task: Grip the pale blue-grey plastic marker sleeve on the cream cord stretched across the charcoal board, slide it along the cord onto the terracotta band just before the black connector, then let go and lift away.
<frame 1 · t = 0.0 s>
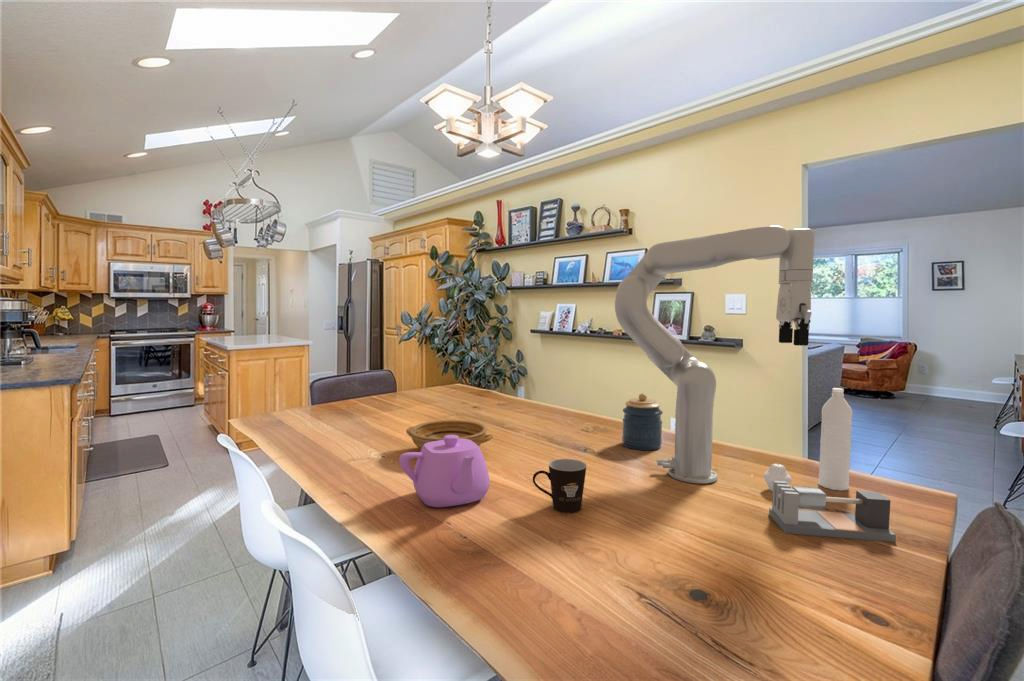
hand: (792, 344, 122), 37 cm above the table, tool pointing down, fingers open, 9 cm apart
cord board: (828, 527, 98), on the table
canister: (641, 446, 158), on the table
water bottle: (833, 485, 122), on the table
teapot: (452, 499, 113), on the table
ceramic bowl: (448, 454, 149), on the table
coffee mug: (560, 507, 108), on the table
white rounded ridged piece: (776, 491, 118), on the table
marker sleeve: (808, 498, 99), point 6 cm above the table, slide at 0.0 cm
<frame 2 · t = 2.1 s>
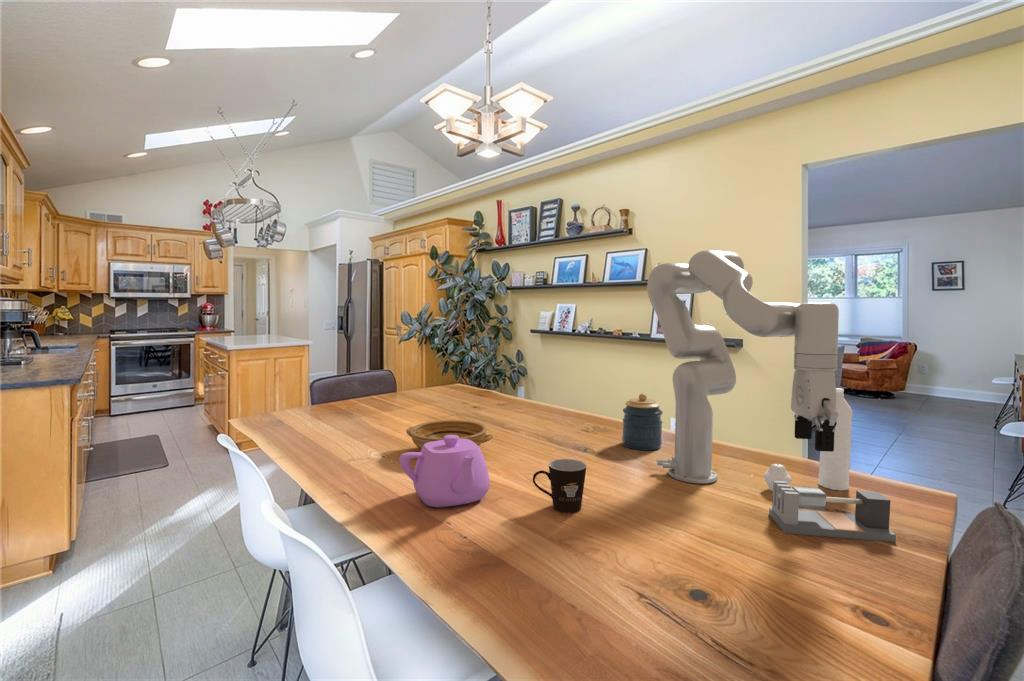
hand: (813, 444, 97), 18 cm above the table, tool pointing down, fingers open, 9 cm apart
nothing on the table moved.
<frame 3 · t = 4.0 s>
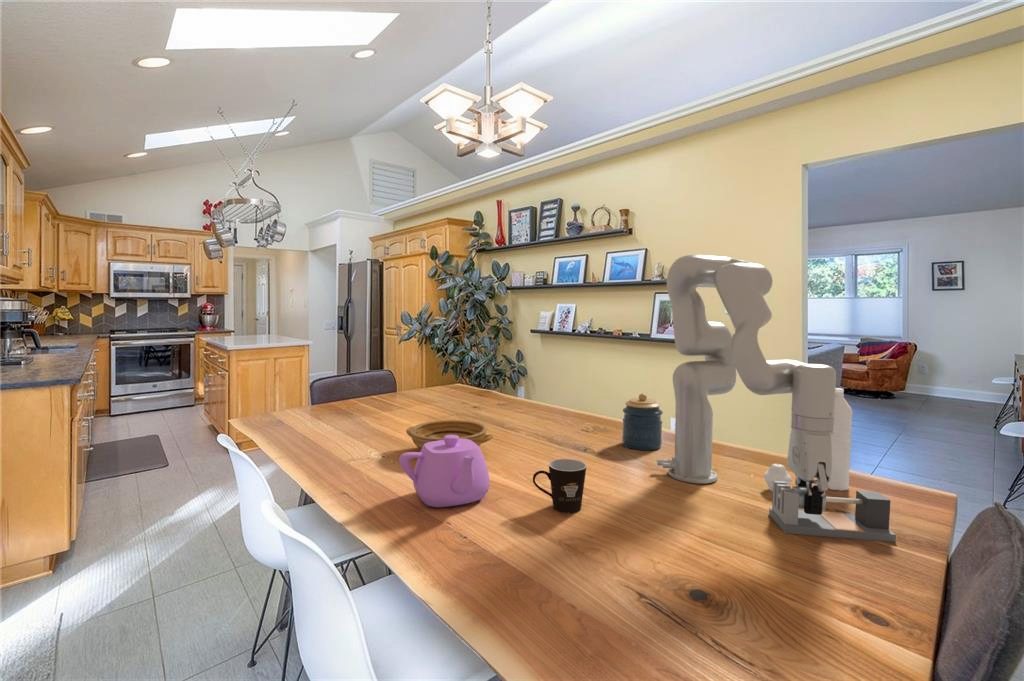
hand: (808, 508, 99), 4 cm above the table, tool pointing down, fingers closed on marker sleeve, 3 cm apart
marker sleeve: (808, 498, 99), point 6 cm above the table, slide at 0.0 cm, touching gripper
everything else where it was.
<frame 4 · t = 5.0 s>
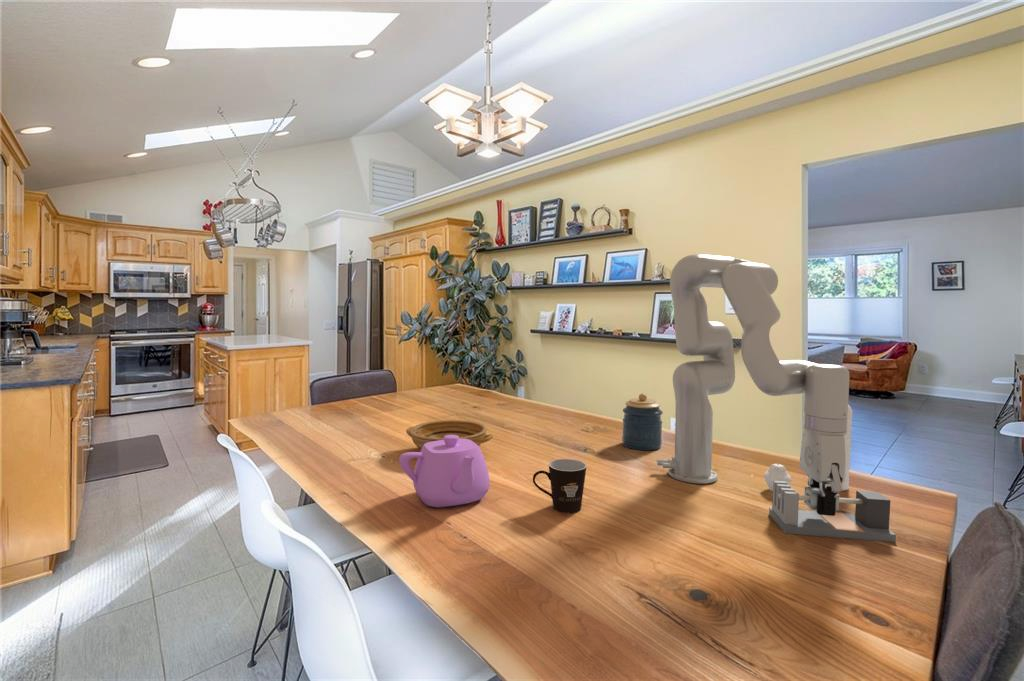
hand: (820, 509, 98), 4 cm above the table, tool pointing down, fingers closed on marker sleeve, 3 cm apart
marker sleeve: (821, 498, 98), point 6 cm above the table, slide at 2.5 cm, touching gripper
everything else where it was.
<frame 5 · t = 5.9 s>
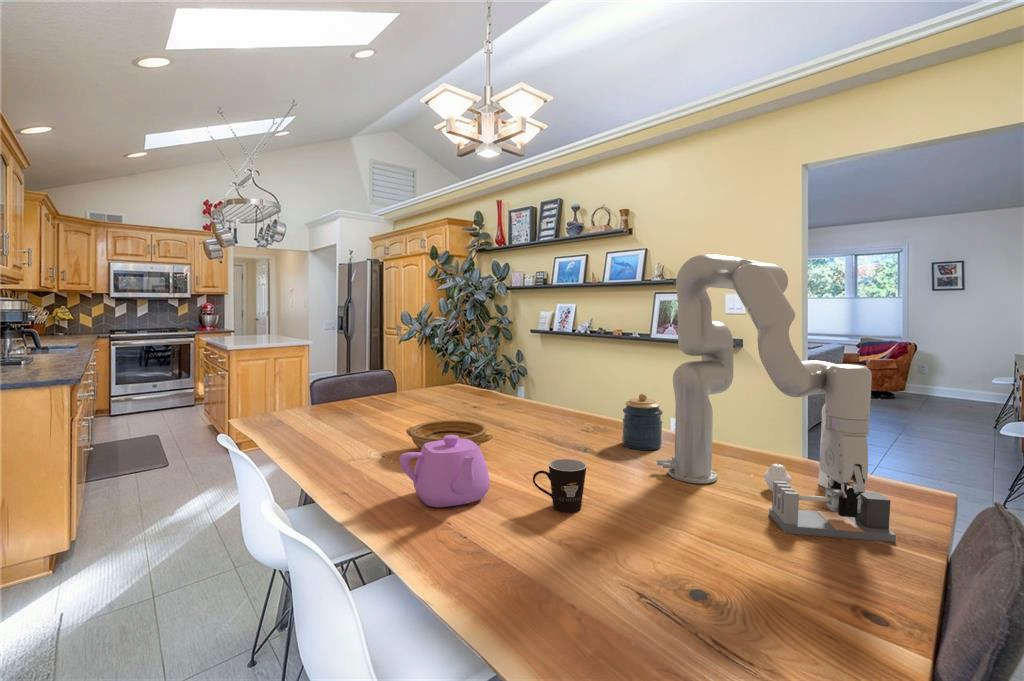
hand: (842, 510, 98), 4 cm above the table, tool pointing down, fingers closed on marker sleeve, 3 cm apart
marker sleeve: (842, 500, 97), point 6 cm above the table, slide at 6.4 cm, touching gripper
everything else where it was.
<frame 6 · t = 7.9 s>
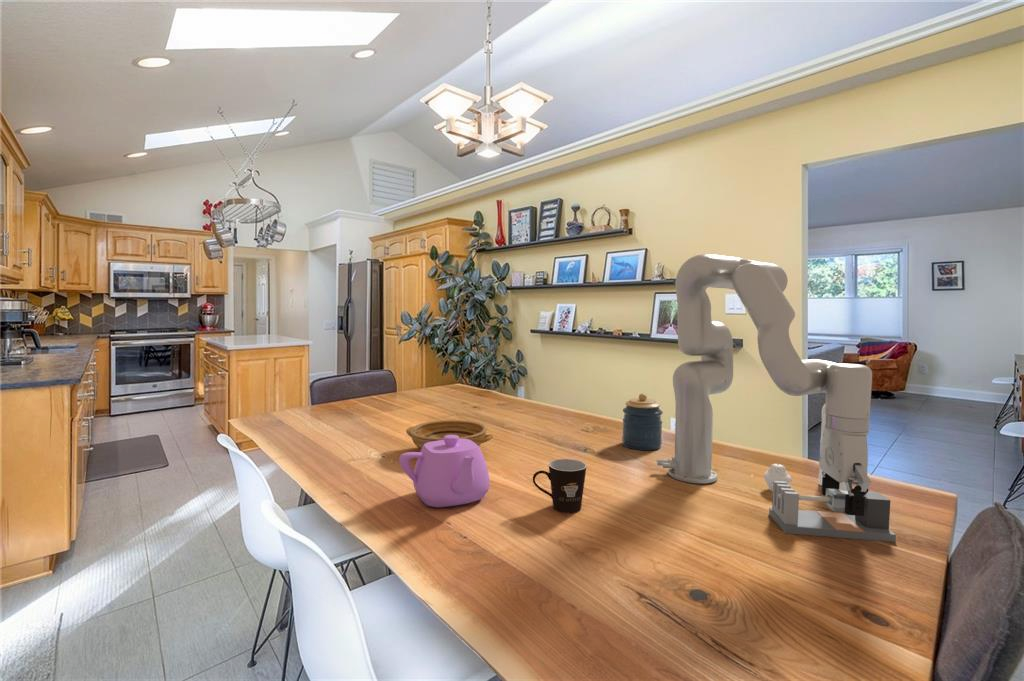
hand: (841, 504, 98), 5 cm above the table, tool pointing down, fingers open, 9 cm apart
marker sleeve: (842, 500, 97), point 6 cm above the table, slide at 6.5 cm
everything else where it was.
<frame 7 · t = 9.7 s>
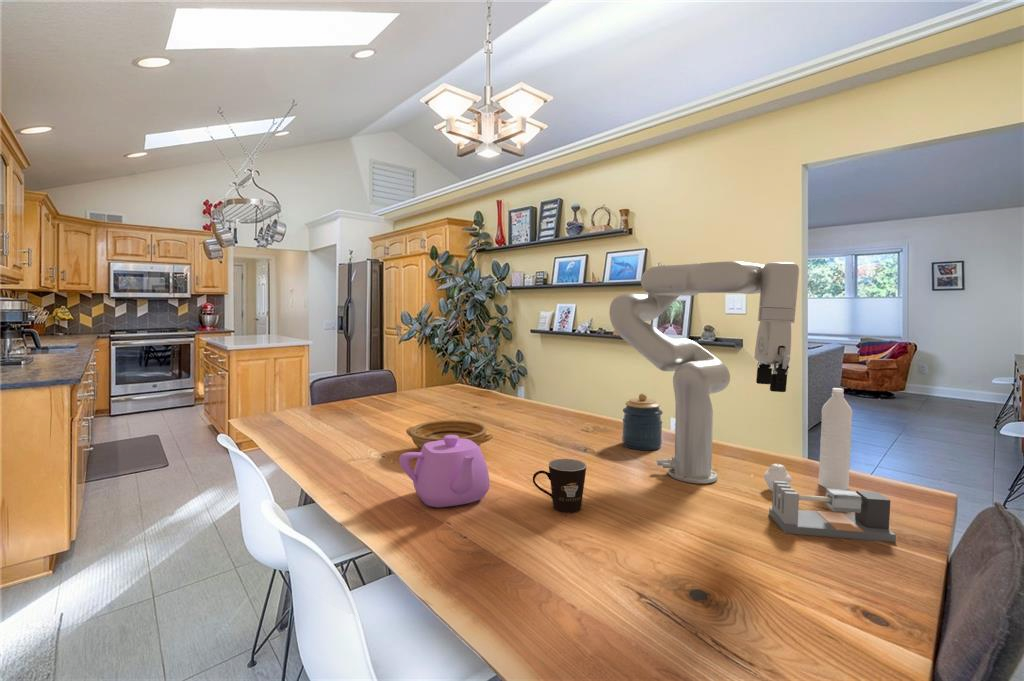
hand: (770, 387, 112), 27 cm above the table, tool pointing down, fingers open, 9 cm apart
nothing on the table moved.
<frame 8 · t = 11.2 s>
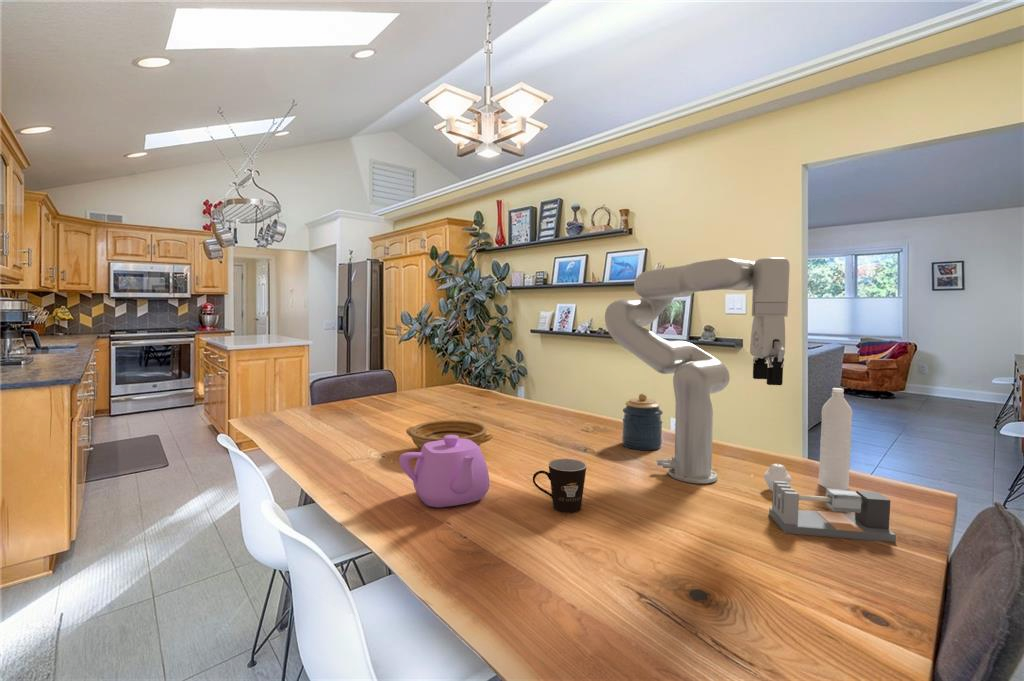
hand: (766, 381, 113), 28 cm above the table, tool pointing down, fingers open, 9 cm apart
nothing on the table moved.
at the end: marker sleeve slide at 6.5 cm; the gripper is holding nothing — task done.
